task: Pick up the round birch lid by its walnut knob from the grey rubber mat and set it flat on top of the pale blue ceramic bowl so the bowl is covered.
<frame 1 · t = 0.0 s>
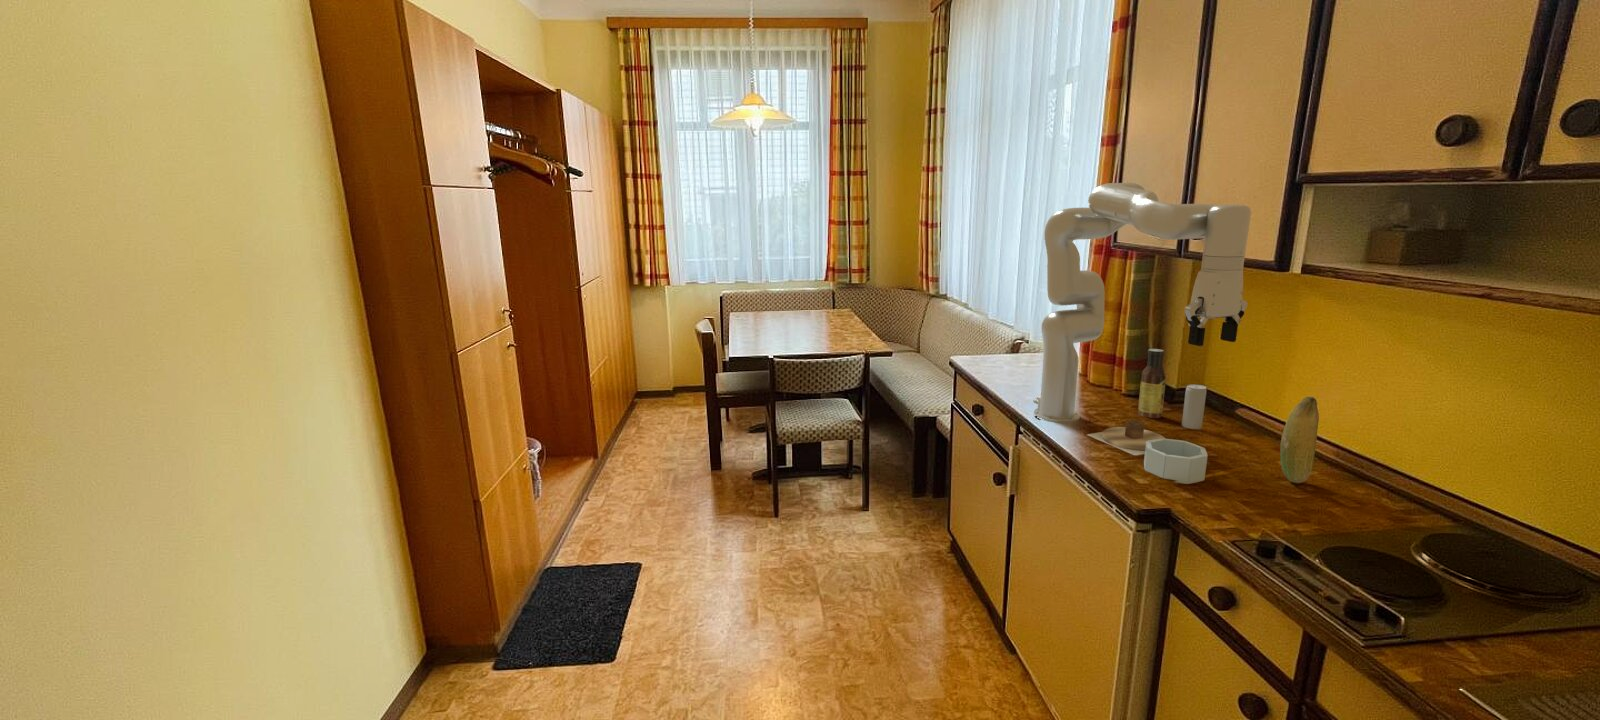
hand: (1211, 342, 142), 31 cm above the worktop, tool pointing down, fingers open, 9 cm apart
vegetable: (1291, 483, 144), on the worktop
mat: (1133, 442, 169), on the worktop
sauce bottle: (1149, 416, 189), on the worktop
lid: (1133, 440, 169), point 1 cm above the worktop, touching mat
beverage can: (1191, 428, 179), on the worktop
bowl: (1172, 472, 151), on the worktop
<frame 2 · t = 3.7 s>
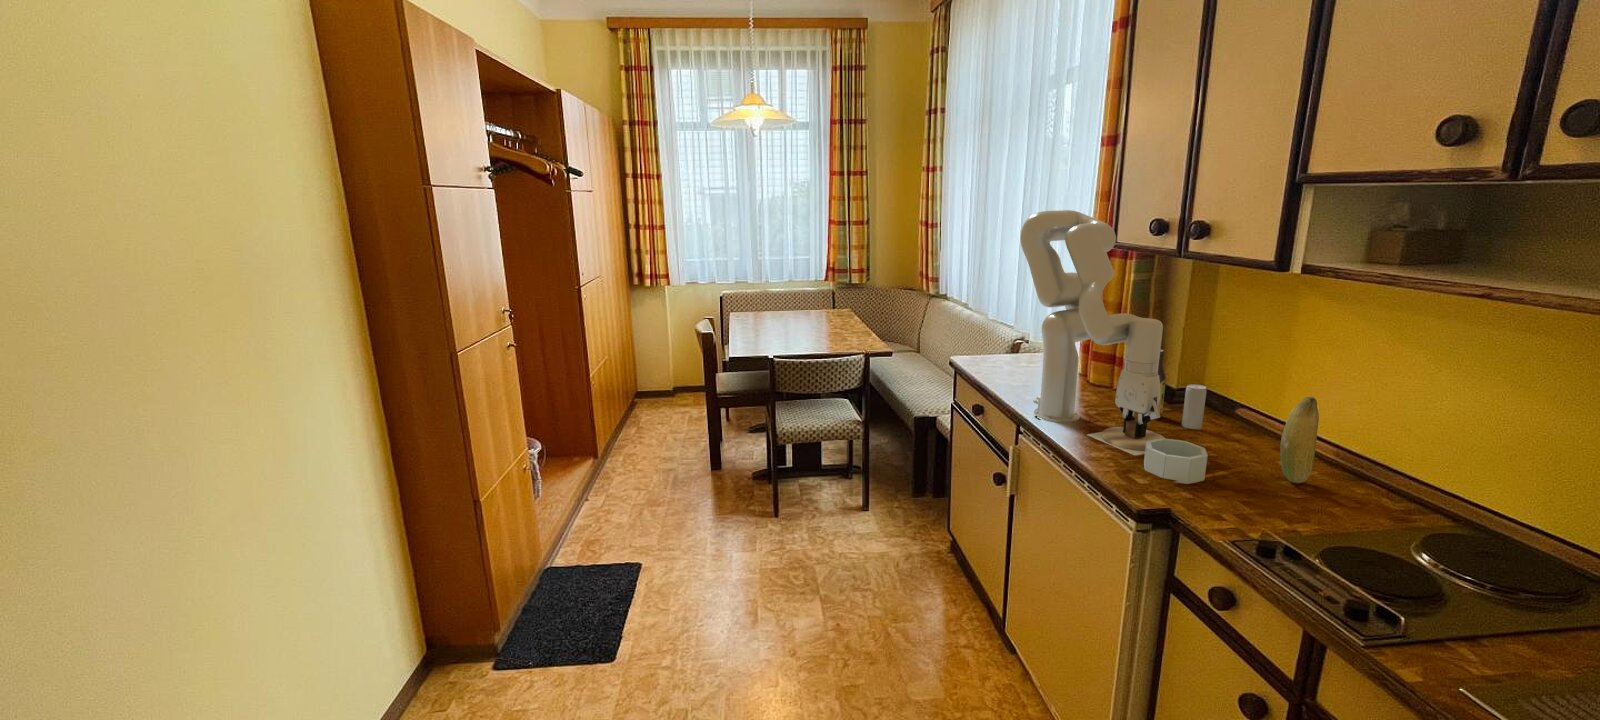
hand: (1134, 434, 169), 2 cm above the worktop, tool pointing down, fingers closed on lid, 3 cm apart
lid: (1133, 440, 169), point 1 cm above the worktop, touching gripper, mat
everything else where it was.
when the fingers open (9 cm above the worktop, at t = 8.8 s): lid drops 2 cm, resting on bowl.
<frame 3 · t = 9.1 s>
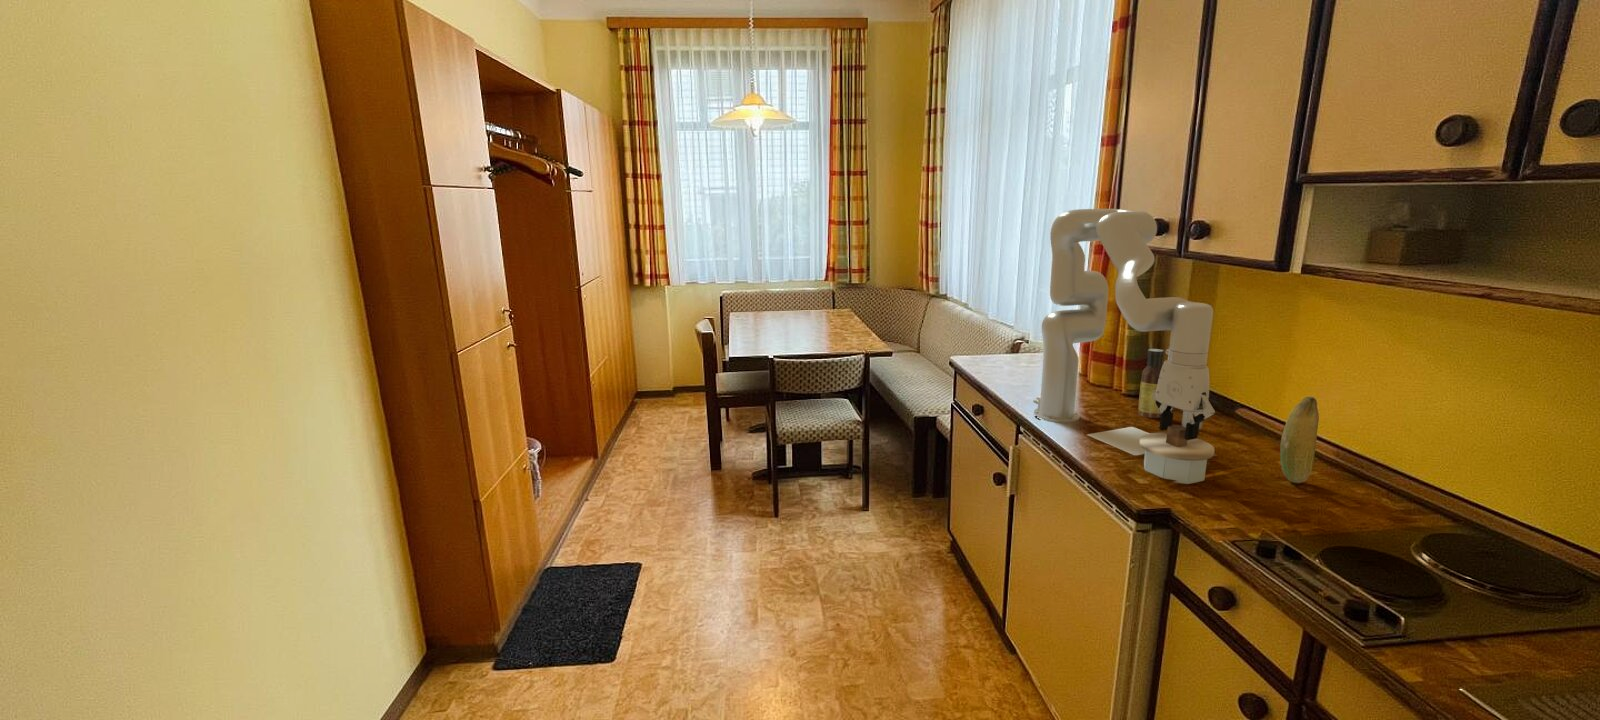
hand: (1177, 433, 148), 10 cm above the worktop, tool pointing down, fingers open, 6 cm apart
lid: (1175, 448, 149), point 6 cm above the worktop, touching bowl
everything else where it was.
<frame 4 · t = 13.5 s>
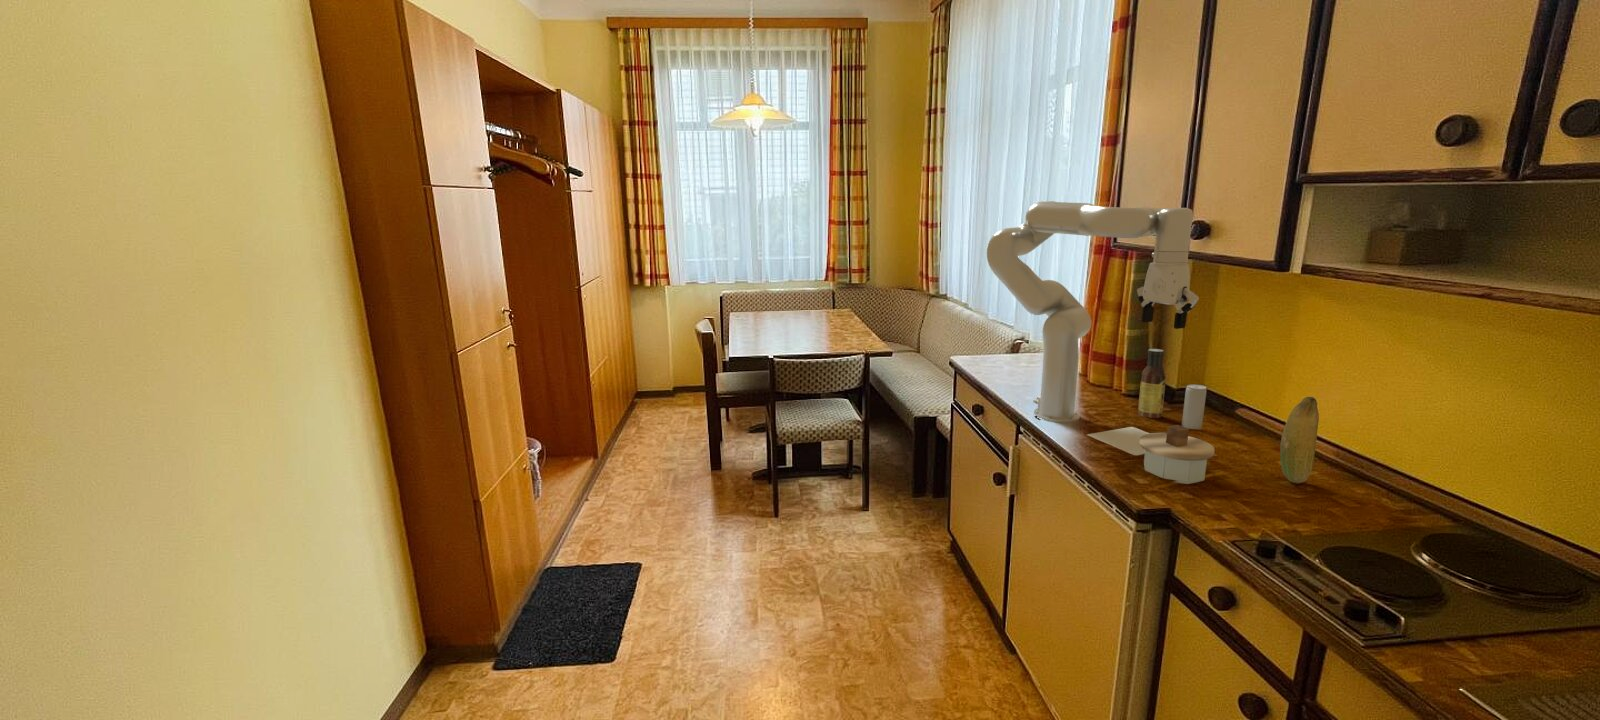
hand: (1162, 324, 167), 30 cm above the worktop, tool pointing down, fingers open, 9 cm apart
nothing on the worktop moved.
at the end: lid 0.1 cm off-centre on the bowl, point 6.0 cm above the bowl's base; lid tilted 0°; lid touching bowl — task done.
